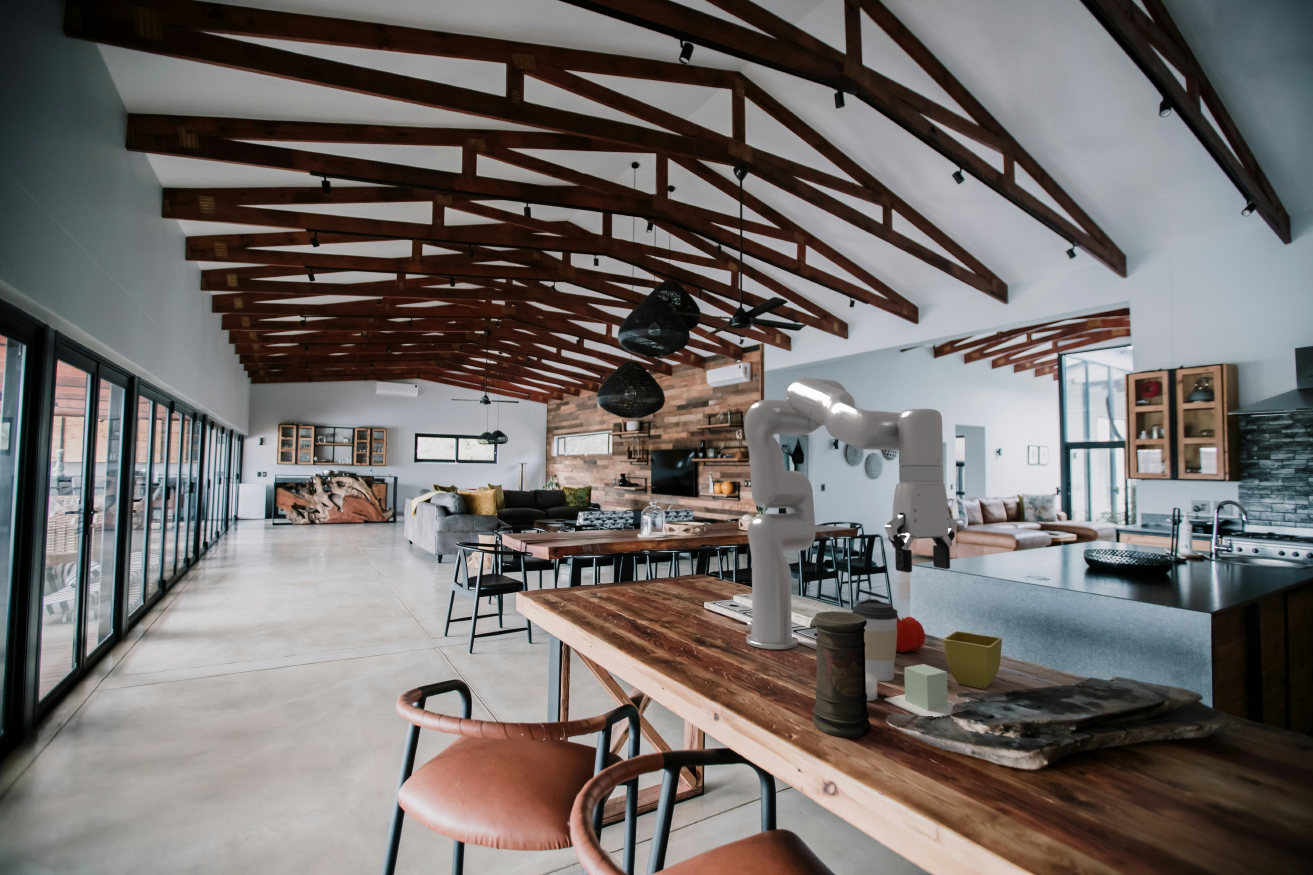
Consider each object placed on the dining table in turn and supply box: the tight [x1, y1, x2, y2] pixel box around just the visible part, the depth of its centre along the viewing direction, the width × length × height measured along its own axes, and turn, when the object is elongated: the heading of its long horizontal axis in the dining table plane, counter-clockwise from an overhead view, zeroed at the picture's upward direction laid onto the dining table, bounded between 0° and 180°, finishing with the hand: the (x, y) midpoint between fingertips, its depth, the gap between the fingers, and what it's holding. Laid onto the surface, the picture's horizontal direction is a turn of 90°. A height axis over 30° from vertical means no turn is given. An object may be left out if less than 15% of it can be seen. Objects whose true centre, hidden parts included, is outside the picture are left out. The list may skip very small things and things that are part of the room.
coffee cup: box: [851, 598, 899, 682], centre depth 127 cm, size 9×9×15 cm
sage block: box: [904, 663, 949, 711], centre depth 110 cm, size 5×5×6 cm
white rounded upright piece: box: [866, 673, 878, 702], centre depth 115 cm, size 6×6×4 cm
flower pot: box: [942, 630, 1003, 690], centre depth 122 cm, size 9×9×9 cm
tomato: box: [896, 616, 926, 653], centre depth 145 cm, size 9×9×8 cm
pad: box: [884, 693, 957, 718], centre depth 110 cm, size 10×10×1 cm
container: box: [812, 611, 871, 738], centre depth 101 cm, size 9×9×18 cm
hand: (923, 569), depth 112 cm, fingers open, 9 cm apart
